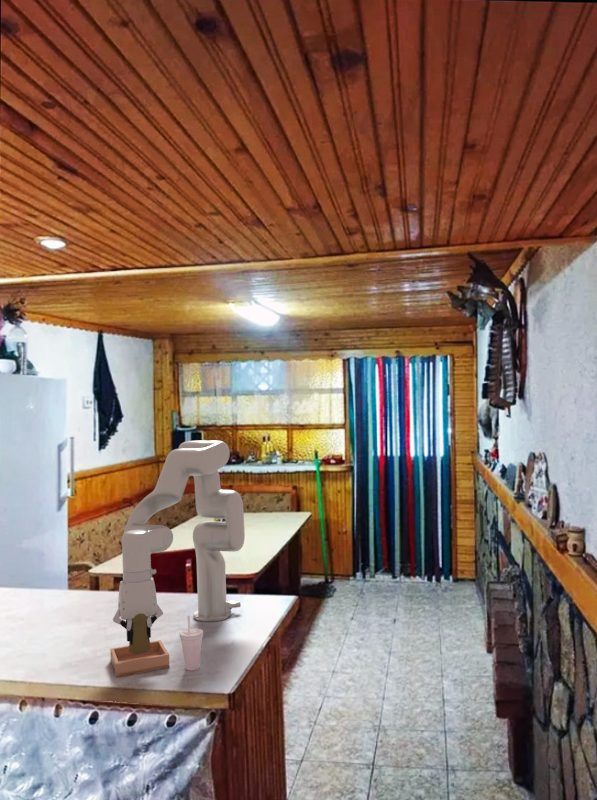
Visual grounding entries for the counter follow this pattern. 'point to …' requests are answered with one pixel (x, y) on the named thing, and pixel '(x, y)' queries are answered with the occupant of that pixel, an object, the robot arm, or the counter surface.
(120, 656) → the terracotta tray
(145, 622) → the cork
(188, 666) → the smoothie
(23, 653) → the counter surface
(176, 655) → the counter surface
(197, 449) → the robot arm
